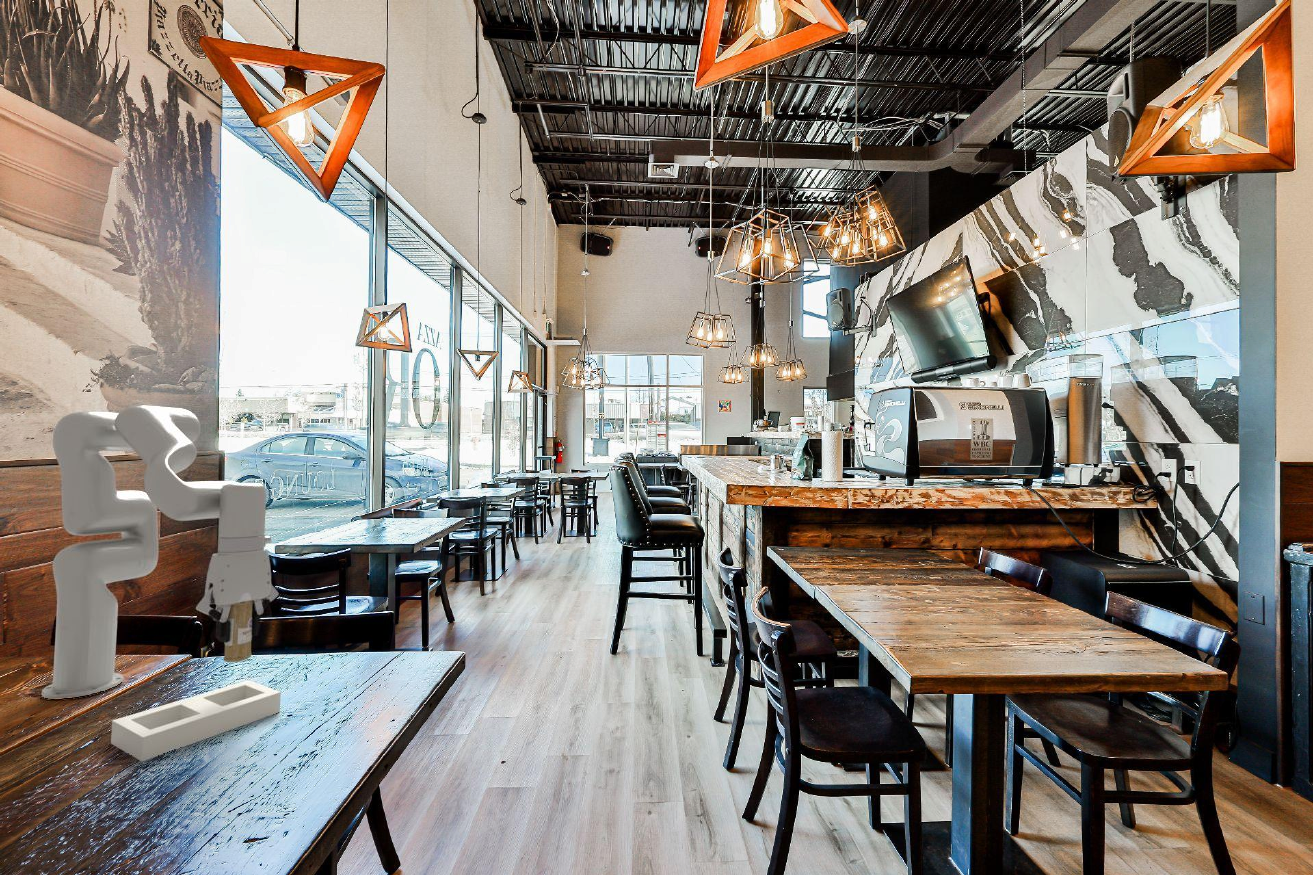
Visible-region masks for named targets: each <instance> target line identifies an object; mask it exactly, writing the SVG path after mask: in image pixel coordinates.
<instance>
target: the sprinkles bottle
mask: <svg viewBox="0 0 1313 875" xmlns="http://www.w3.org/2000/svg"><path fill="white" fill-rule="evenodd" d="M250 600H251V596H250V594H249V593H244V594H243V595H242V596H241V598H240V600H239V602H240V603H237V604H235V605H231V608H230V611H229V615H228V621H230V641H229V642H226V643H224V642H223V643H224V657H223V661H224V662H226V663H237V662H243V661H245V660H248V659H250V658H251V657H252V638H253V635H252V601H250Z"/></svg>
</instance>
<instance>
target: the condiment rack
mask: <svg viewBox="0 0 1313 875" xmlns="http://www.w3.org/2000/svg"><path fill="white" fill-rule="evenodd" d="M281 693H282V692H281V691H279V690H276V689H273V688H271V687H268V686H266V685H262V684H260V683H258V682H254V681H252V680H244V681H240V682H236V683H234V684H231V685H227V686H224V687H221V688H218V689H214V690H210V691H207V692H204V693H200V694H197V695H194V696H190V697H188V698H187V697H186V698H183V699H180V700H176V701H173V702H170V703H166V704H164V705H159V706H156V707H153V708H150V709H147V710H143V711H141V712H137V713H133V714H130V715H126V716H123V717H120V718H117V719H113V720H112V721H111V737H110V738H111V739H110V744H111V745H113V746H114V747H116V748H118V749H120V750H121V751H123V752H125V753H126V754H128V753H129V754H128V755H130V756H131V755H132V757H133V758H135V759H136V760H138V761H139V762H145V761H148V760H151V759H153V758H156V757H159V756H161V755H164V754H163V753H165V754H168V753H170V752H173V751H175V750H174V749H176V750H179V749H181V748H180V747H182V748H184V747H187V746H190V745H192V744H195V743H198V742H201V741H204V740H207V739H209V738H212V737H215V736H218V735H222V734H223V733H226V732H228V731H229V732H230V731H232V730H234V729H238V728H240V727H243V726H245V725H248V724H251V723H254V722H257V721H259V720H263V719H265V718H268V717H271V716H274V715H276V713H277V714H279V713H281V698H282V696H281ZM278 712H279V713H278ZM273 714H274V715H273ZM267 716H268V717H267ZM172 750H173V751H172ZM169 751H170V752H169ZM167 752H168V753H167ZM158 755H159V756H158Z"/></svg>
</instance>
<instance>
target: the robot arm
mask: <svg viewBox="0 0 1313 875" xmlns="http://www.w3.org/2000/svg"><path fill="white" fill-rule="evenodd" d="M201 430H202V429H201V423H200V421H199V418H198V417H197V416H196V414H194V413H192V412H191V411H190V410H187V409H185V408H180V407H168V406H167V407H166V406H160V405H159V406H157V405H134V406H128V407H127V408H124V409H123V410H121V411H120V412H111V411H108V412H107V411H77V412H72V413H68V414H66V415H65V416H63V417H62V418H61V419H60V420H59V421H58V422H57V424H56V426H55V427H54V430H53V433H52V447H53V451H54V454H55V458H56V460H57V463H58V466H59V470H60V477H61V511H62V512H61V514H62V524H63V527H64V530H65V531H66V532H67V533H68V534H70V535H73V536H95V535H96V536H97V535H105V534H106V535H107V534H108V535H109V534H117V533H120V534H121V538H113V539H102V540H94V541H93V540H92V541H86V542H85V541H84V542H80V543H79V542H78V543H74V544H71V545H68V546H67V547H65V548H63V549H61V550H59V552H57V554H55V556H54V559H53V562H52V573H53V578H54V582H55V583H54V584H55V588H56V590H55V591H56V617H55V620H56V621H55V622H56V623H55V625H56V626H55V637H54V638H55V640H54V655H53V656H54V657H53V659H54V660H53V671H52V672H53V673H52V683H51V684H49V685H47V686H45V687H44V688H42V690H41V695H42V696H41V697H42V698H43V697H44V698H43V699H45V698H51V699H54V698H68V697H79V696H83V695H89V694H92V693H97V692H100V691H104V692H106V691H105V690H107V689H109V688H112V687H114V686H117V685H118V684H120V683H121V682H122V683H123V682H124V678H125V677H124V675H123V674H121V673H120V672H119V673H118V672H115V668H116V666H115V665H116V664H115V663H116V650H117V647H116V646H117V632H118V631H117V630H118V611H119V605H118V604H119V603H118V600H117V597H116V596H115V595H114V594H113V592H111V590H110V589H109V588H108V587H107V584H111V583H114V582H120V581H126V580H132V579H138V578H142V577H145V576H147V575H149V574H151V573H152V572H153V571H154V570H155V569H156V567H157V564H158V561H159V522H158V520H159V519H158V518H159V517H158V510H159V511H160V512H161V513H162V514H164V515H165V516H166V517H167V518H170V519H172V520H175V521H179V522H180V521H181V522H183V521H184V522H185V521H186V522H187V521H196V520H207V519H218V539H217V540H218V541H217V553H213V554H212V555H211V559H210V560H209V561H210V562H209V565H208V570H207V573H206V581H205V587H204V588H205V589H204V595H203V597H202V599H201V600H200V601H199V603H198V604H196V607H195V610H197V611H199V612H200V613H203V614H204V615H207V616H208V617H210V618H211V619H212V620H213V621H215V622H216V623H215V638H216V639H217V641H219V642H220V643H226V642H229V641H230V621H228V615H229V611H230V608H231V605H235V604H237V603H240V602H239V600H240V598H241V596H242V595H243V594H244V593H249V594H250V596H251V600H250V601H252V637H253V636H254V637H255V636H258V635H259V630H260V628H261V615H262V614H264V610H265V609H266V608H267V607H268V606H269V605H270V604H271V602H272V601H274V600H275V599H277V597H278V596H279V592H278V591H277V589H276V588H275V587H274V586H273V584H272V572H271V562H270V557H269V551H268V549H265V547H266V544H269V543H271V542H272V537H271V536H266V534H265V532H266V530H265V529H266V510H267V508H266V507H267V506H266V504H267V503H266V502H267V489H266V486H264V484H262V483H258V482H239V481H234V480H216V481H214V480H208V481H207V480H205V481H200V480H199V481H183V480H182V478H181V479H180V478H179V477H178V476H177V474H178V473H180V472H182V471H184V470H186V469H188V467H189V466H191V465H192V463H194V461H195V459H196V458H197V455H198V450H197V447H196V445H195V443H194V442H195V441H197V440H198V439H199V437H200V434H201ZM103 451H106V452H135V453H136V454H137V455H138V457H140V458H141V460H142V461H143V462H144V463H145V464H146V465H147V467H146V469H145V472H144V474H143V475H144V476H143V485H144V490H145V492H144V491H141V490H135V489H133V490H131V489H128V490H117V488H116V487H117V485H116V472H115V469H114V467H113V465H112V464H111V463H110V461H109V460H108V459H107V458H106V457H105V456H104V455H103V454H102V453H100V452H103ZM210 605H215V606H216V607H215V609H214V608H212V607H211V606H210ZM122 683H121V684H122ZM121 684H120V685H121ZM118 686H119V685H118ZM118 686H117V687H118ZM112 689H113V688H112ZM107 691H108V690H107ZM97 694H98V693H97ZM89 696H90V695H89ZM79 698H80V697H79Z"/></svg>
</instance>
